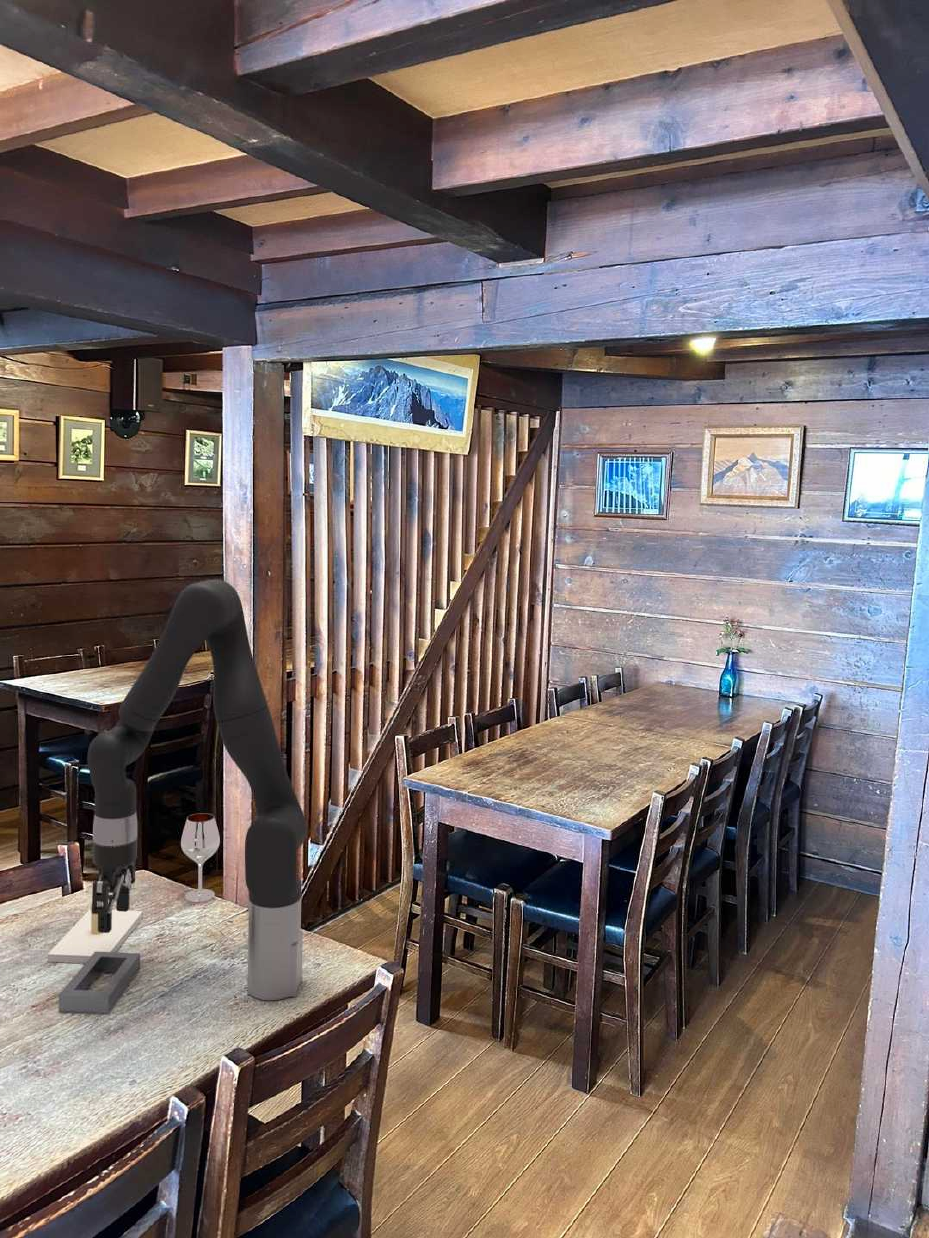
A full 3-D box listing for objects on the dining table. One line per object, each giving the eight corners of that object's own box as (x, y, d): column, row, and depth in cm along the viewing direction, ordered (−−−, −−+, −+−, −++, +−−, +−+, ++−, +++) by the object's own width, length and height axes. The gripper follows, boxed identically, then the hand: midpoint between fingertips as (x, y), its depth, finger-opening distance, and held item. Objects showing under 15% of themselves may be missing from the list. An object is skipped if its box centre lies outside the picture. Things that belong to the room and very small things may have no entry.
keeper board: (142, 917, 186) (142, 882, 185) (106, 964, 167) (106, 924, 166) (90, 915, 186) (89, 879, 185) (47, 961, 167) (47, 922, 166)
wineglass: (180, 889, 200) (181, 812, 198) (218, 886, 203) (219, 810, 201) (180, 905, 193) (181, 825, 190) (219, 902, 195) (220, 822, 193)
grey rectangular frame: (95, 966, 166) (95, 951, 166) (140, 968, 166) (140, 953, 166) (58, 1011, 151) (58, 995, 151) (108, 1013, 152) (108, 997, 151)
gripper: (120, 852, 155) (119, 940, 157) (149, 823, 169) (148, 904, 171) (77, 850, 155) (76, 938, 157) (110, 821, 169) (108, 902, 171)
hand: (114, 920), depth 164 cm, fingers open, 8 cm apart
